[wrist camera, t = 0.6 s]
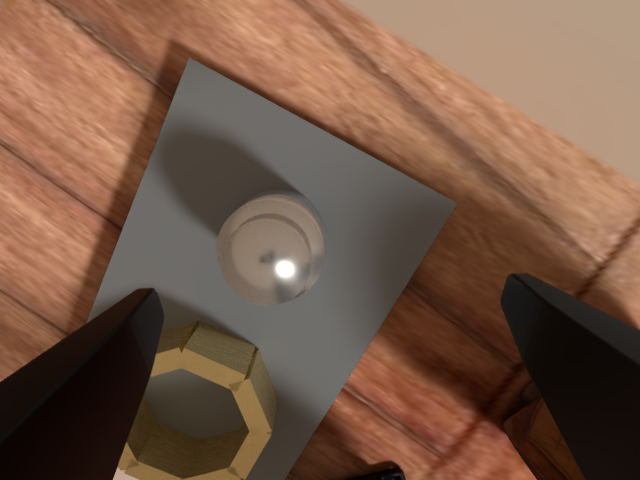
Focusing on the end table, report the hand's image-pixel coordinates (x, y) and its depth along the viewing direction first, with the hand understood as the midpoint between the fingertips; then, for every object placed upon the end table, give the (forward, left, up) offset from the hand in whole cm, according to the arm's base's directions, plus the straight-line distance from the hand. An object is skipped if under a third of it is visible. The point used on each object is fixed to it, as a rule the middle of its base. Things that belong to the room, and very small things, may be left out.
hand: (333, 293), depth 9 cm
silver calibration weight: (0, +3, -11) cm, 12 cm away
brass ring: (-9, +11, -11) cm, 18 cm away
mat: (-5, +7, -13) cm, 15 cm away
